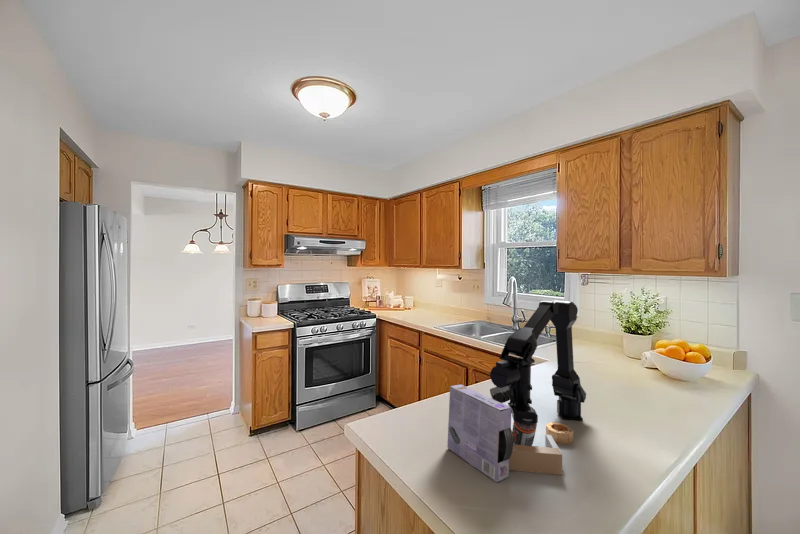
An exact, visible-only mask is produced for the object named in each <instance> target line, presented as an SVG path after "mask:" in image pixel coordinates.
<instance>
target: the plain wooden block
mask: <svg viewBox="0 0 800 534" xmlns="http://www.w3.org/2000/svg"><path fill="white" fill-rule="evenodd" d="M544 436H545V439H544V440H545V446H536V445H535V446H534V445H532V446H526V445H515V444H513V451H512V454H511V456H510V458H509V471H517V472H525V473H526V472H529V473H537V474H538V473H539V474H545V475H546V474H548V475H549V474H550V475H560V476H561V475H563V453H562V451H561V450H560V448H559V446H558V443H556V442H555V441H554V439H553V437H552V436H551V435H546V434H545V435H544Z"/></svg>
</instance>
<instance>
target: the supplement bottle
mask: <svg viewBox="0 0 800 534" xmlns="http://www.w3.org/2000/svg"><path fill="white" fill-rule="evenodd" d="M523 420H524V422H526V423H524V422H515V421H514V420H513V422H512V423H513V424H512V429H511V430H512V435H513V444H514V445H526V446H533V444H534V441H535V436H536V431H537V426H538V425H537V424H538V423H530V422H531V421H532V420H530V419H523Z"/></svg>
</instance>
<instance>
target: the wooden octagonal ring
mask: <svg viewBox="0 0 800 534" xmlns="http://www.w3.org/2000/svg"><path fill="white" fill-rule="evenodd" d="M546 435H551V436H552V437H553V439H554V441H555V443H556V444H561V445H562V444H563V445H569V444H571V443H573V442H574V429H572V427H571V426H570V425H567V424H565V423H562V422H556V421H555V422H554V421H552V422H548V423H547V424H545V436H546Z"/></svg>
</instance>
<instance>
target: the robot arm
mask: <svg viewBox="0 0 800 534" xmlns="http://www.w3.org/2000/svg"><path fill="white" fill-rule="evenodd" d="M578 310H579V309H578V306H577V305H576V303H574V302H573V301H568V300H567V301H566V300H565V301H564V300H547V299H546V300H545V299H543V300H541V301H539V303H538V307H537V308H536V309H535V311H534V313H533V314H532V315H531V316H530V318H529V319H528V320H527V321H526V323H525V324H524V326H523V327H522V328H520V329H517V330H515V331H514V332H513V333H511V334H510V336H508V338H507V339H506V340H505V344H504V346H503V349H502V351H501V353H500V355H499V356H500V357H499V360H501V361H496V362H495V366H494V367H492V368H491V370H490V372H489V376H490V380H491V382H492V383H493V385H494V387H492V388H489V393H490V396H491V397H490V398H492V399H494V400H496V401H498V402H500V403H502V404H504V403H507V406H509V407H511V408H512V411H511V418H512V419H513V422H514V421H515V422H524V420H523V419H530V420H532V421H531V422H530V423H537V424H538V423H539V422H538V420H539V416H538V413H537V411H536V410H535V408H533V406H531V405H532V404H533V401H532V398H531V391H533V386H532V383H531V376H532V375H531V374H532V364H534V363H536V361H535V359H534V358H533V355H534V354H535V352H536V350H537V348H538V341H537V340H538V339H539V337H540V336H541V334H542V332H543V331H544V329H545V328H546V326H547V325H548V324H549V322H550V321H551V323H552V325H553V326H554V328H555V342H556V343H555V344H556V361H557V369H556V371H555V373H553V374H552V375H551V381H552V383H551V386H552V390H553V394H554V395H553V396H556V397H558V399H557V400H556V412H557V413H558V415H559V416H560V417H561V419H562V420H575V421H583V419H584V418H583V417H582V404H583V403H585V402H586V399H587V392H586V391H585V390H584V388H583V386H582V385H581V379H580V376H579V375H578V373H577V371H576V370H575V368H574V367H575V365H574V364H575V363H574V348H573V345H574V344H573V325H574V324H575V323H576V321H577V318H578V317H577V316H578V315H577V314H578ZM524 423H526V422H524Z"/></svg>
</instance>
